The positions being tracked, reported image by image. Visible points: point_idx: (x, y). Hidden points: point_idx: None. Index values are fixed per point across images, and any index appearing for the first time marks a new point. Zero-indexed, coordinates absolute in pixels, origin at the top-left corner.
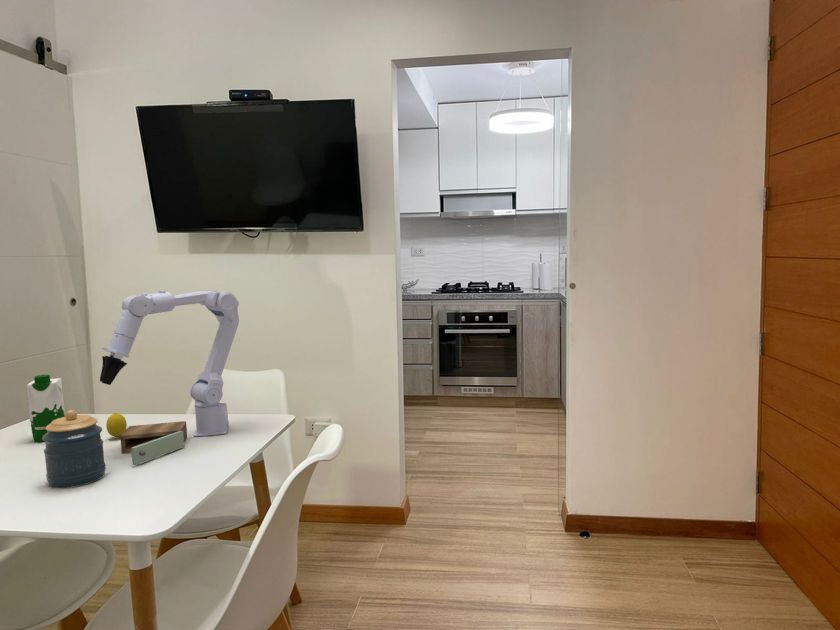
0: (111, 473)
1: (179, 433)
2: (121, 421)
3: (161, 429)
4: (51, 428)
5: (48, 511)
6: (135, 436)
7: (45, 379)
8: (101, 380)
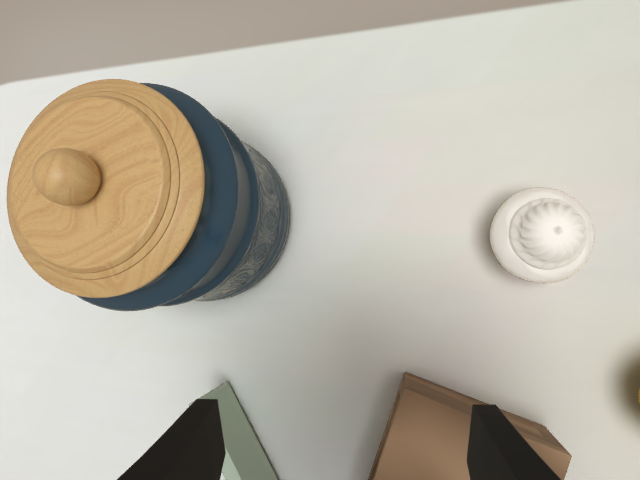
0: (203, 312)
1: None
2: None
3: None
4: (52, 104)
5: None
6: (384, 445)
7: None
8: (474, 421)
